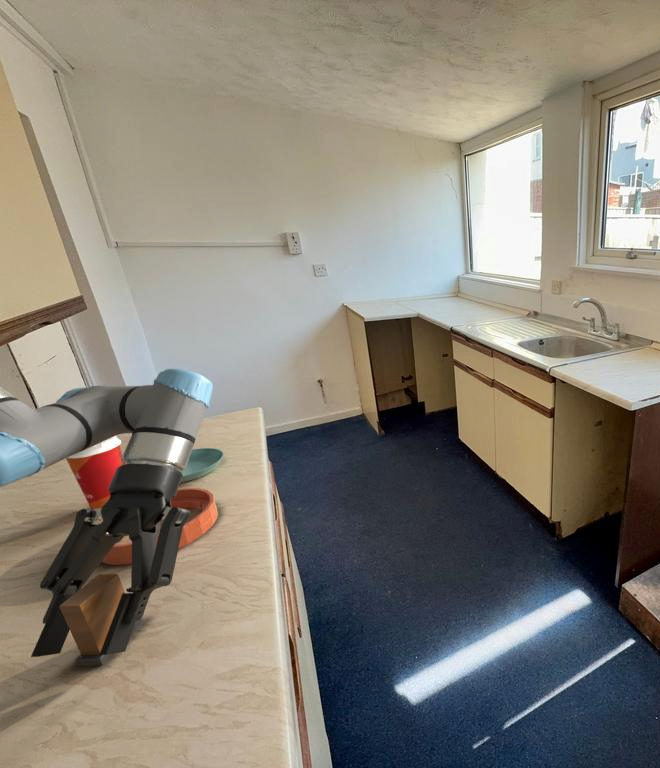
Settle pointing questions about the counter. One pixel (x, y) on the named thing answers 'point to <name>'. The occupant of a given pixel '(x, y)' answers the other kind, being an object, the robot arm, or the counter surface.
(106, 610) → the eraser
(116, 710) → the counter surface
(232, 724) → the counter surface
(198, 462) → the saucer
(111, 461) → the coffee cup
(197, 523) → the bowl
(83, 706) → the counter surface
